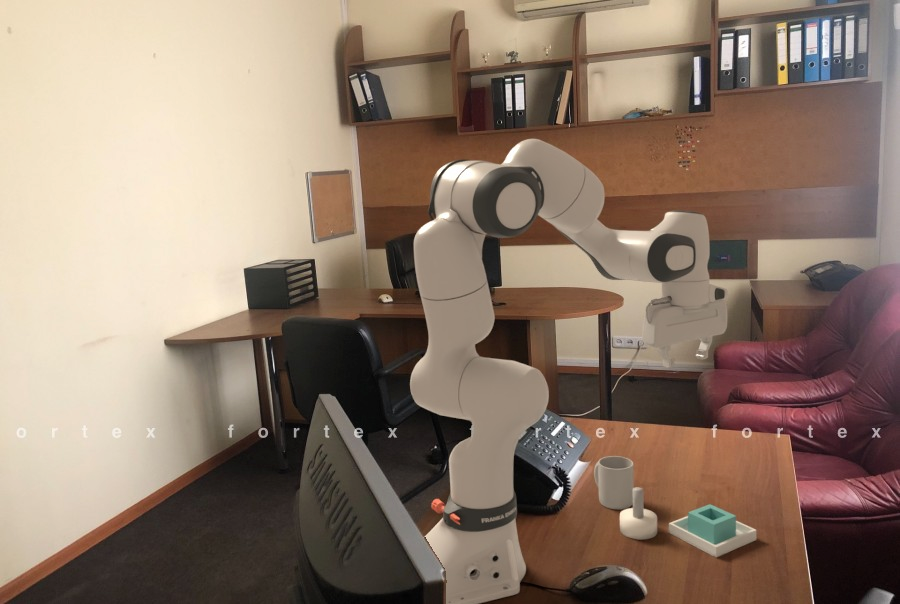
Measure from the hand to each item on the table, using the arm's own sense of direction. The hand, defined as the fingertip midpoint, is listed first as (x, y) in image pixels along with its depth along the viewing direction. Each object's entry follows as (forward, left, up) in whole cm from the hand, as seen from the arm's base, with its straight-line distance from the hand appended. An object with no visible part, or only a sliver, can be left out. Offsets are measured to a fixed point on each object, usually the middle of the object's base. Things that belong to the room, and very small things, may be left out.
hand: (685, 362), depth 137 cm
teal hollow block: (-5, -10, -31) cm, 33 cm away
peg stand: (-14, -1, -31) cm, 34 cm away
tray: (-5, -10, -31) cm, 33 cm away
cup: (-9, +12, -31) cm, 35 cm away
